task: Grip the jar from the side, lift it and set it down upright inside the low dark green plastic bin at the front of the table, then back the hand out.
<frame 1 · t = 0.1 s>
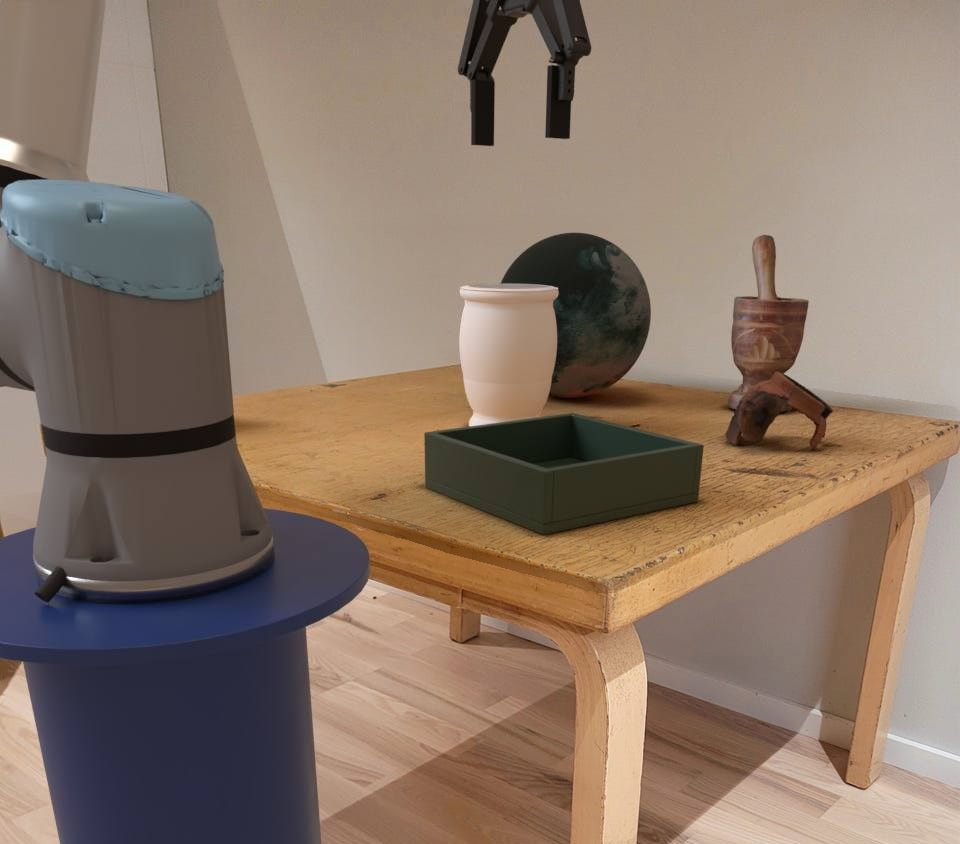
hand: (518, 142, 106), 29 cm above the table, tool pointing down, fingers open, 13 cm apart
decorative sphere: (567, 398, 127), on the table
mortar and pestle: (750, 408, 121), on the table
brown arched piece: (768, 446, 101), on the table
bin: (558, 494, 82), on the table
jar: (506, 429, 108), on the table
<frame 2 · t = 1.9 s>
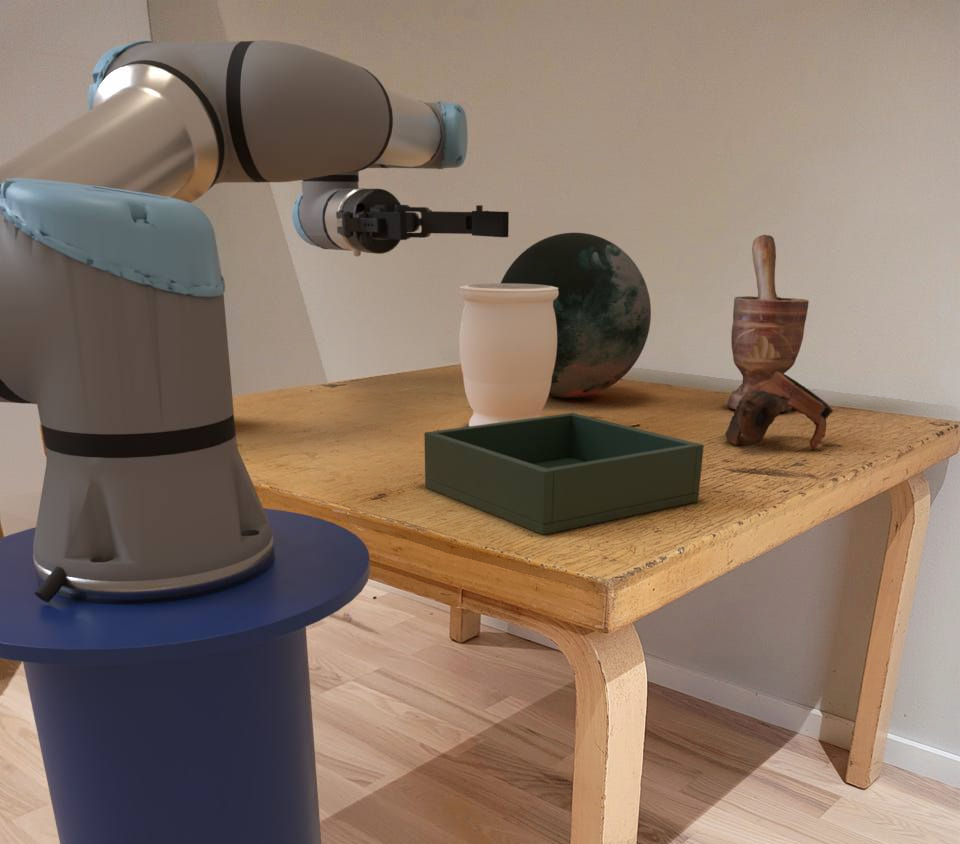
hand: (456, 225, 107), 21 cm above the table, tool horizontal, fingers open, 13 cm apart
nothing on the table moved.
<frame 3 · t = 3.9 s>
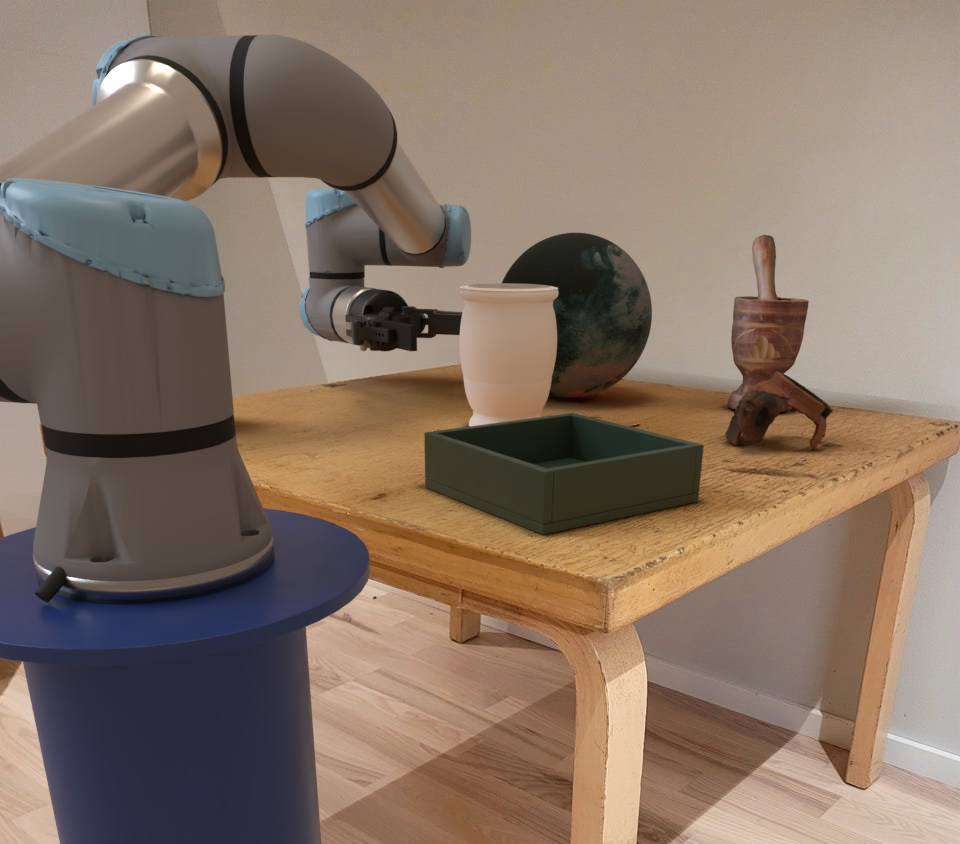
hand: (464, 334, 110), 9 cm above the table, tool horizontal, fingers open, 13 cm apart
nothing on the table moved.
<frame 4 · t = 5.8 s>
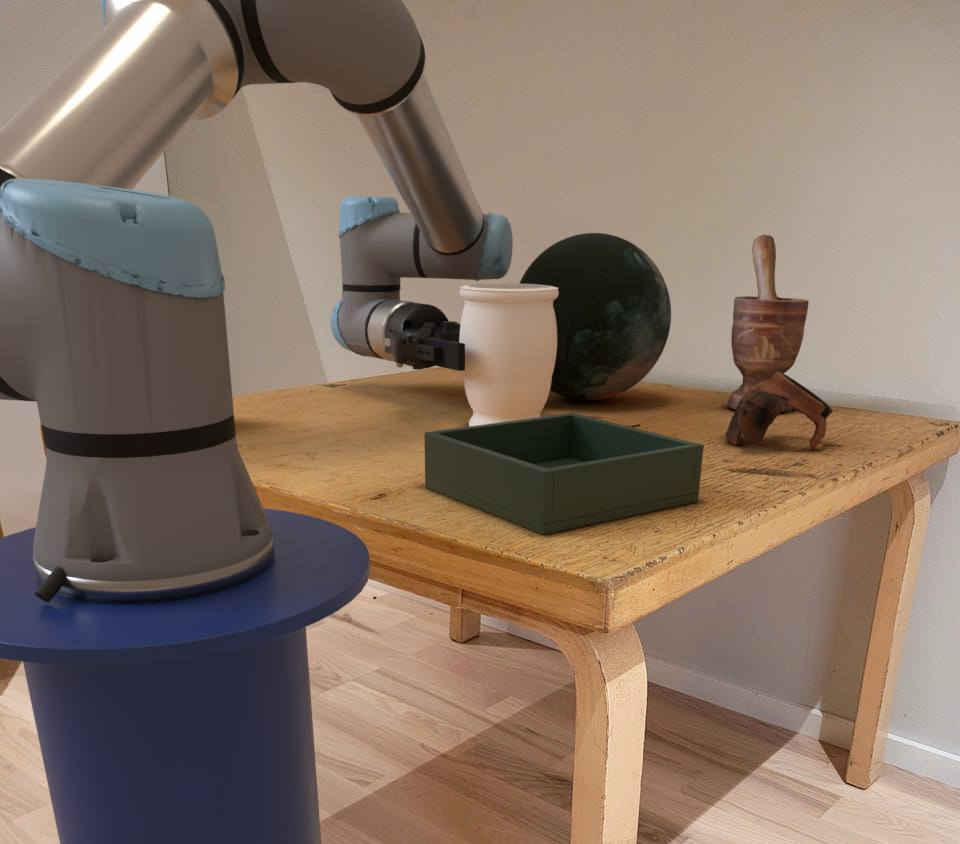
hand: (514, 352, 103), 8 cm above the table, tool horizontal, fingers open, 13 cm apart
decorative sphere: (586, 400, 125), on the table
everything else where it was.
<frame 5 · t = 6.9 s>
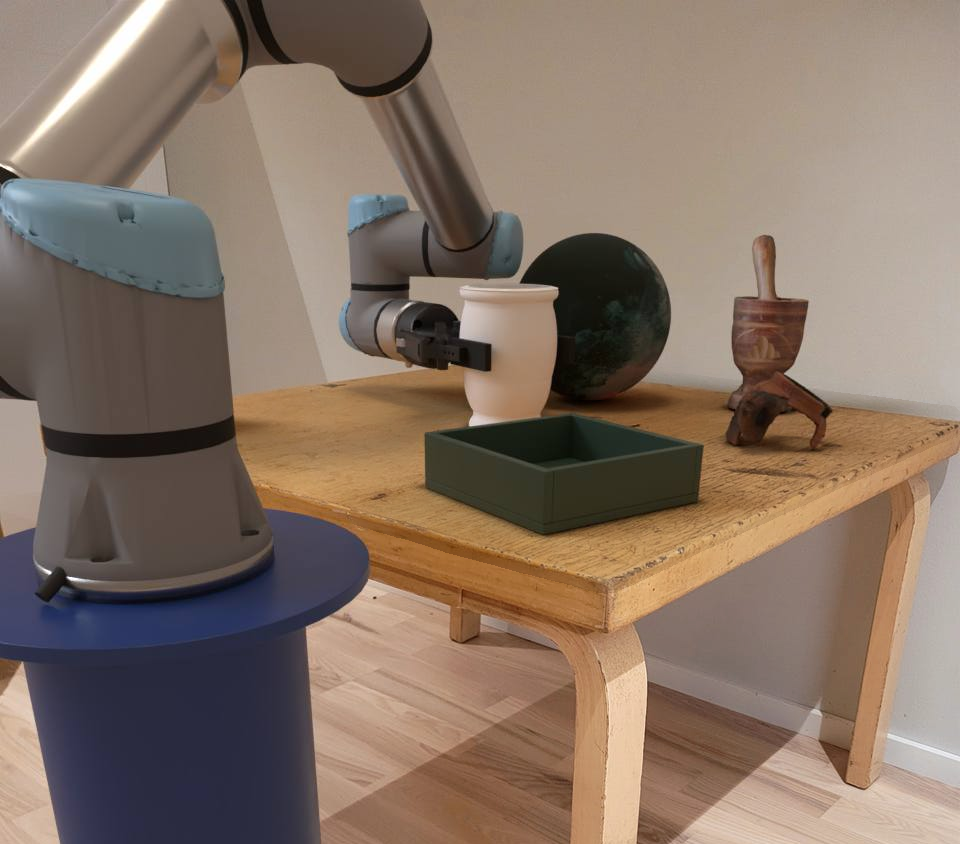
hand: (531, 354, 101), 8 cm above the table, tool horizontal, fingers closed on jar, 10 cm apart
jar: (506, 429, 108), on the table, touching gripper
everything else where it was.
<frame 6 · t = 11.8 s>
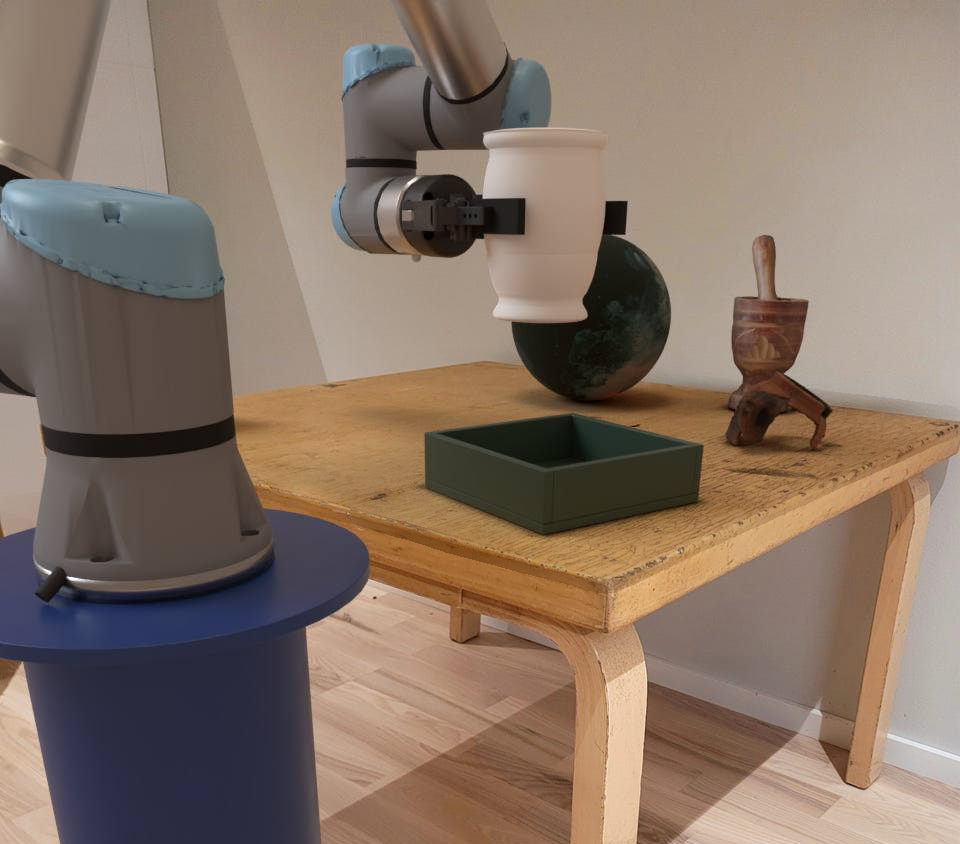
hand: (574, 217, 80), 22 cm above the table, tool horizontal, fingers closed on jar, 10 cm apart
jar: (539, 322, 86), point 13 cm above the table, touching gripper
everything else where it was.
when the fingers open (9 cm above the table, at t = 17.2 s): jar stays where it is, resting on bin.
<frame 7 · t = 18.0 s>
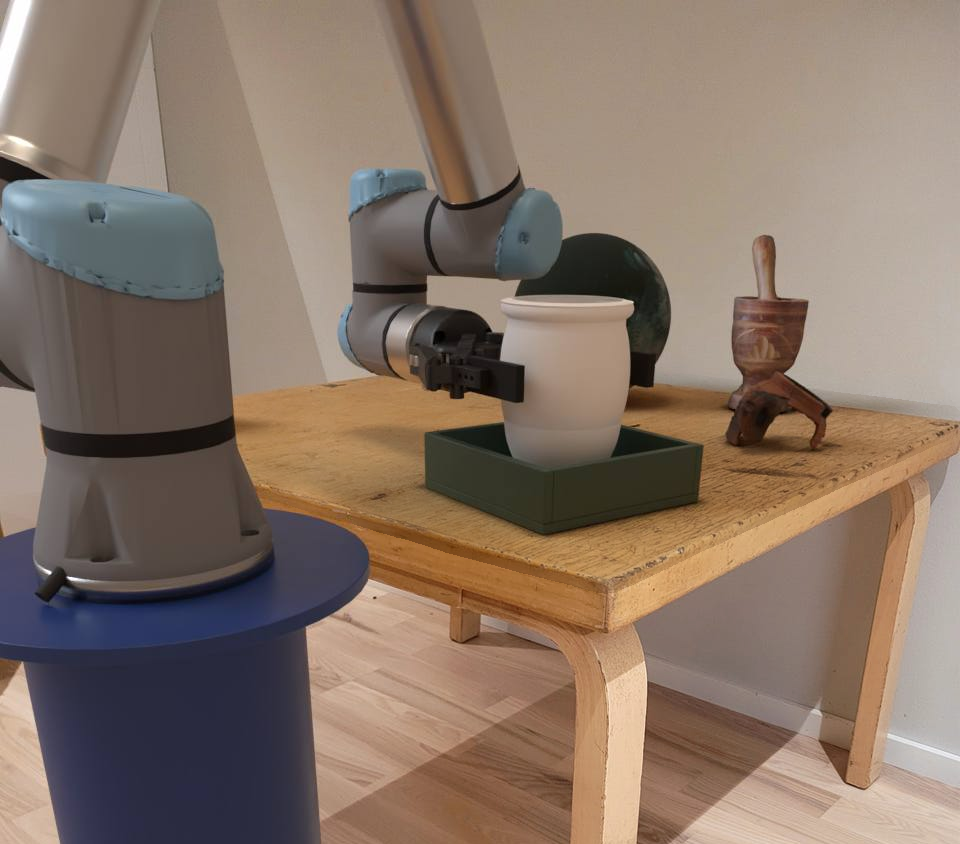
hand: (589, 377, 75), 10 cm above the table, tool horizontal, fingers open, 13 cm apart
jar: (559, 487, 82), point 1 cm above the table, touching bin
everything else where it was.
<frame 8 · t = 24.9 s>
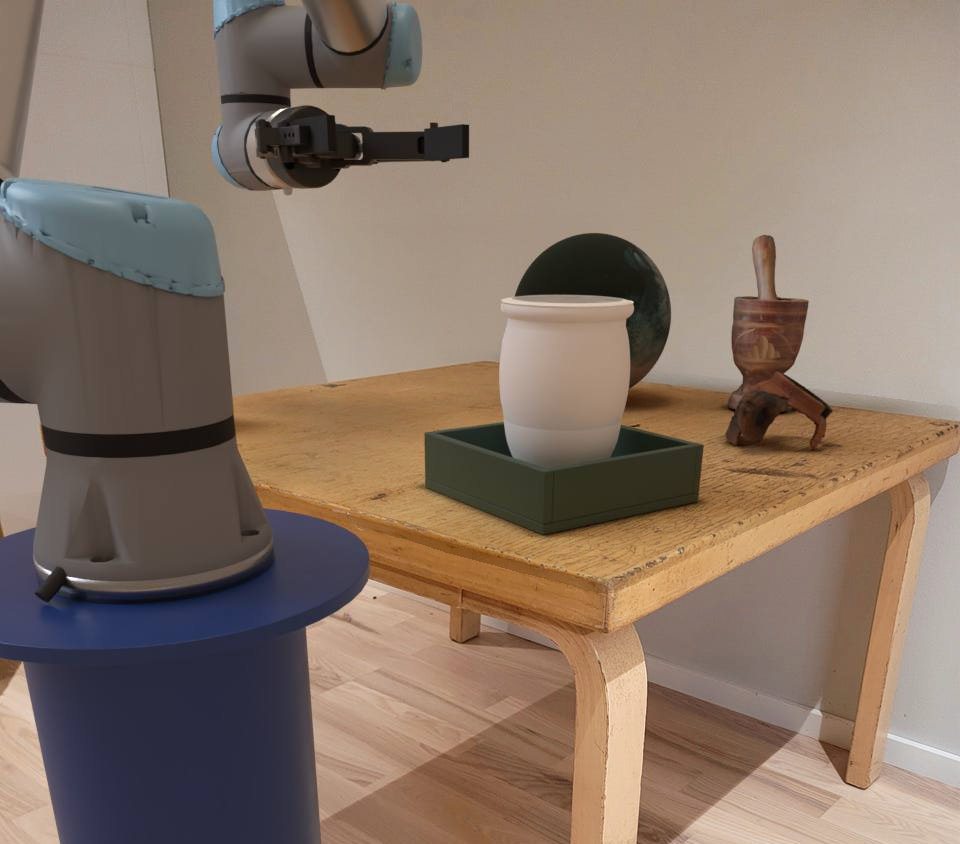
hand: (401, 137, 84), 28 cm above the table, tool horizontal, fingers open, 13 cm apart
nothing on the table moved.
at the end: jar inside the target area in the bin (0.1 cm from its centre), point 0.6 cm above the bin's base; jar tilted 0°; the gripper is holding nothing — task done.
